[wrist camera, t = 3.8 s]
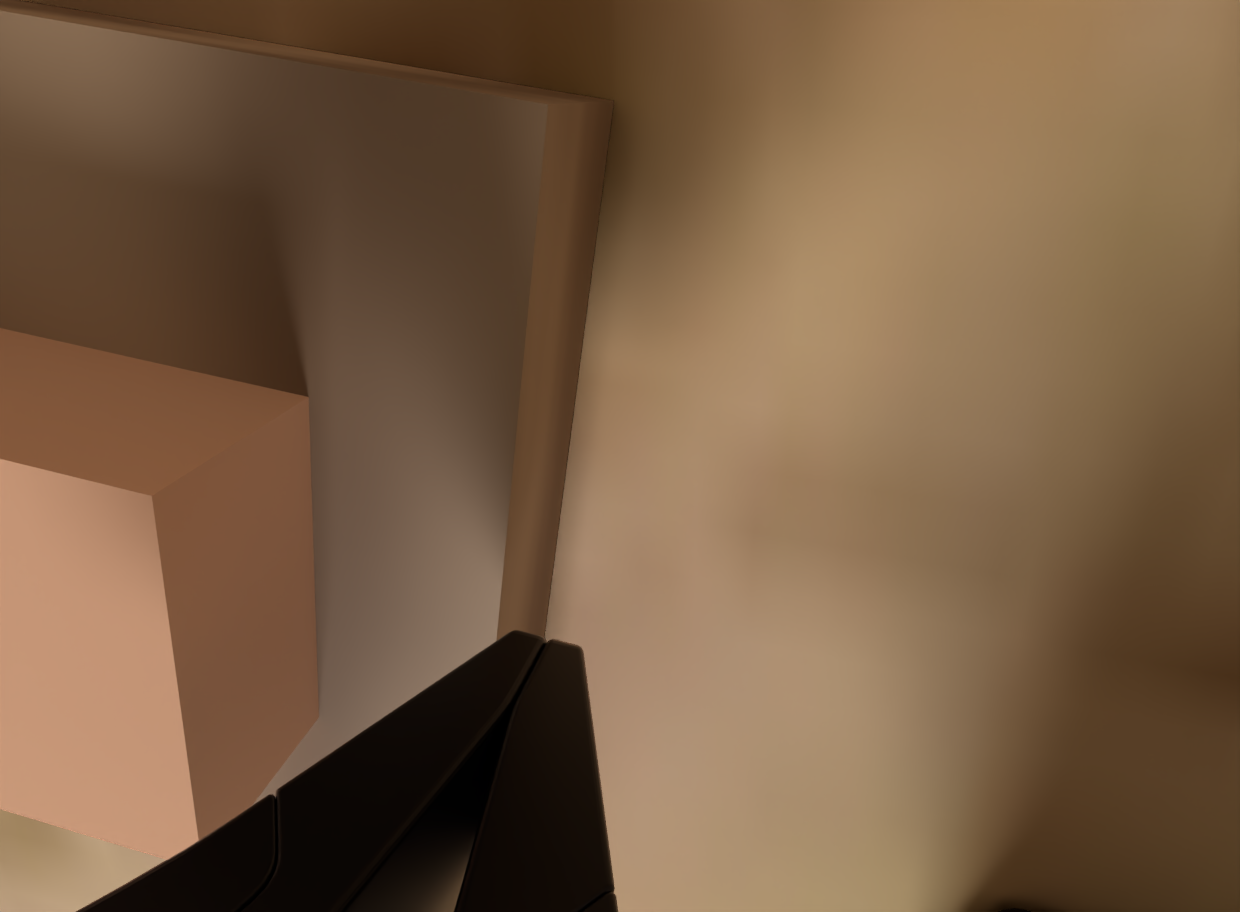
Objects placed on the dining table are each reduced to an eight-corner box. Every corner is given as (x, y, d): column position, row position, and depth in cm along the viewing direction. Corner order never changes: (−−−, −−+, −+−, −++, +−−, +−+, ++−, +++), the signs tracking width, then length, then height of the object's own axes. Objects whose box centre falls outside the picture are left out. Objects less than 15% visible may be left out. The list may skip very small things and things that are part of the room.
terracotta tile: (308, 397, 9) (150, 496, 7) (319, 717, 11) (202, 871, 9) (-69, 312, 10) (-326, 378, 7) (11, 633, 12) (-169, 758, 10)
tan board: (614, 100, 10) (548, 104, 7) (526, 774, 15) (469, 919, 13) (-480, -84, 12) (-847, -135, 9) (-220, 570, 17) (-407, 658, 15)
